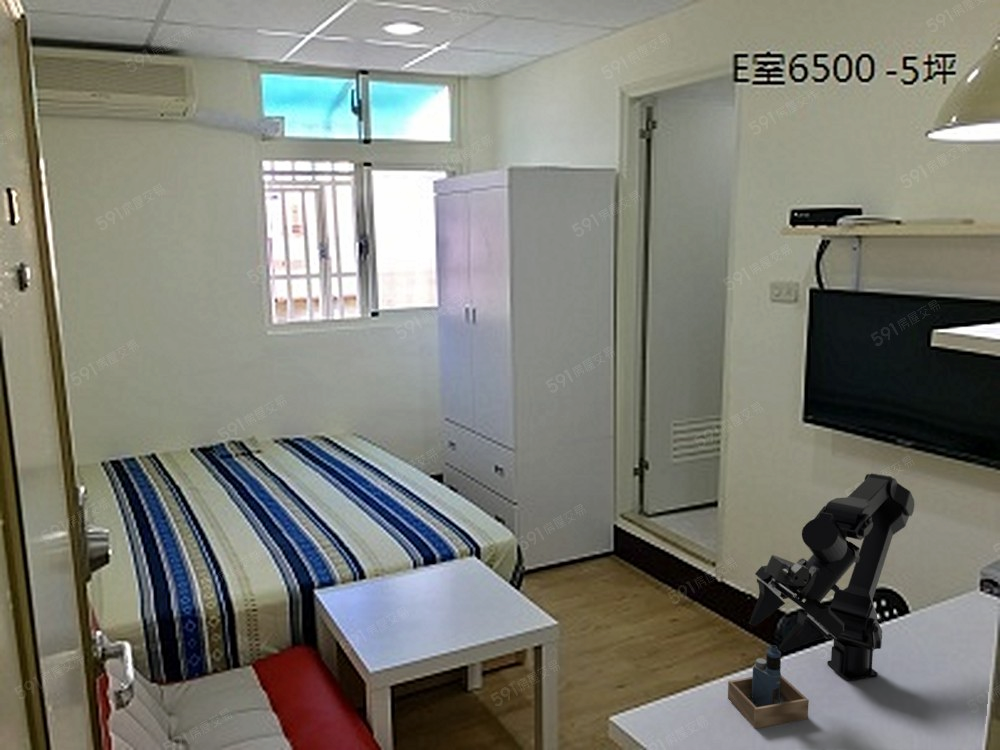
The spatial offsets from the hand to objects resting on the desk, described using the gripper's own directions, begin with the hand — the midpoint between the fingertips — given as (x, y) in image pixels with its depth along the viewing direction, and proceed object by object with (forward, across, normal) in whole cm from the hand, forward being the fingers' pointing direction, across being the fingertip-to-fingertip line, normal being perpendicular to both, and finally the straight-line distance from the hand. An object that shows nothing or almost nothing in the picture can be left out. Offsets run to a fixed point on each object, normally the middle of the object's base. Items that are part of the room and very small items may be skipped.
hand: (765, 637), depth 135 cm
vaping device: (+9, 0, +10) cm, 14 cm away
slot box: (+9, 0, +10) cm, 14 cm away
